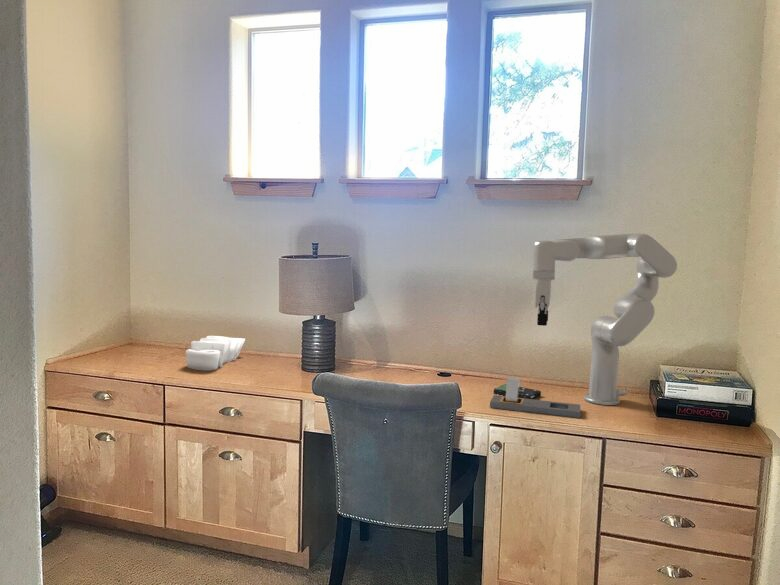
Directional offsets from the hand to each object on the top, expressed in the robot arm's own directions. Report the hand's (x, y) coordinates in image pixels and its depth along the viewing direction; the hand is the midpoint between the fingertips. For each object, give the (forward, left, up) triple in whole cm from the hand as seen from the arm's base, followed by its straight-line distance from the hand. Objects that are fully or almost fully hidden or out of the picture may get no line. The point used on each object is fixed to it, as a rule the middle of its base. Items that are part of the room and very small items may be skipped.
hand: (542, 323), depth 220 cm
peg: (+12, +3, -29) cm, 32 cm away
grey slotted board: (+6, +7, -29) cm, 30 cm away
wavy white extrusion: (+108, -85, -29) cm, 141 cm away
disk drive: (+2, -11, -30) cm, 32 cm away
